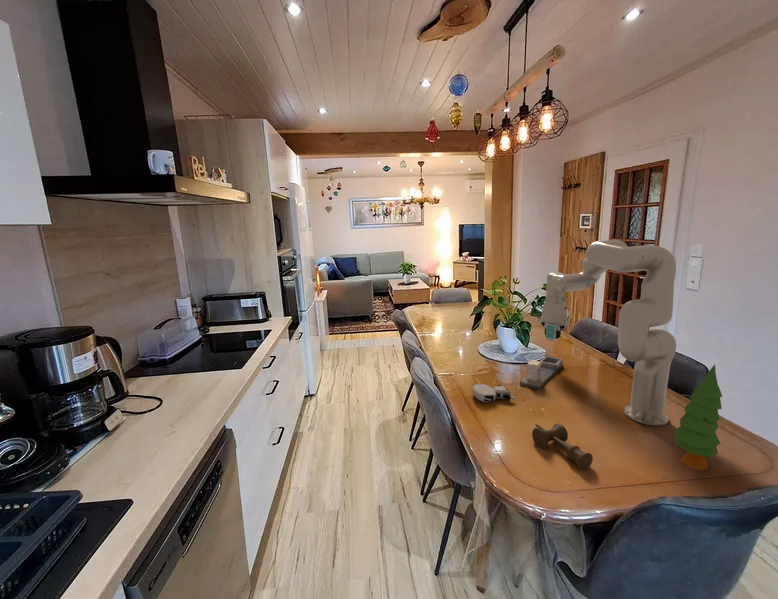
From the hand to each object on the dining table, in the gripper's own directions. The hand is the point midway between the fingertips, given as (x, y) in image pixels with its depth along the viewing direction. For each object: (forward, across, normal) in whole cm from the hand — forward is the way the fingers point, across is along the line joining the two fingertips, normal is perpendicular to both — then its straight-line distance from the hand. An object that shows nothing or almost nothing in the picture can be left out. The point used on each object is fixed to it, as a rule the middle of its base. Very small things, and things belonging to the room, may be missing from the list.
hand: (552, 336), depth 165 cm
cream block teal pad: (+1, 0, 0) cm, 1 cm away
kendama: (+15, -23, +63) cm, 69 cm away
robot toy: (+15, +8, +46) cm, 49 cm away
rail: (+15, 0, +12) cm, 19 cm away
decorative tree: (+15, -53, +47) cm, 72 cm away
